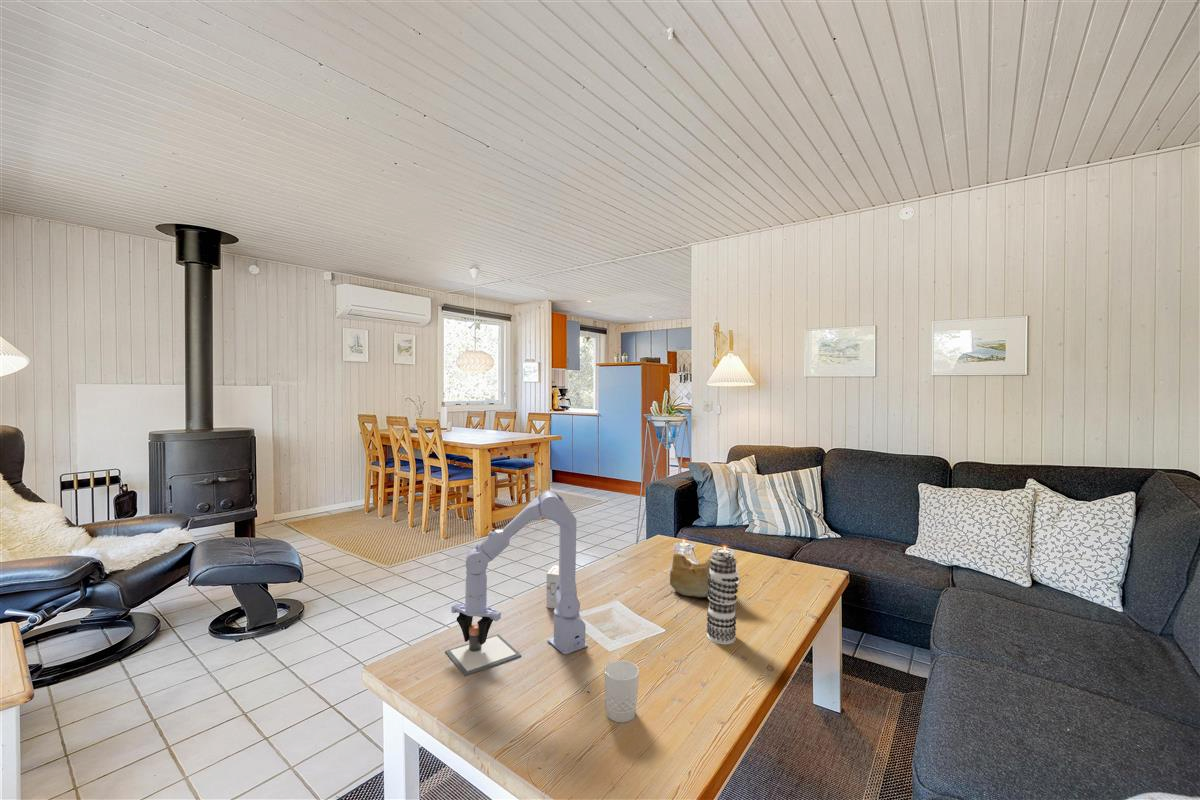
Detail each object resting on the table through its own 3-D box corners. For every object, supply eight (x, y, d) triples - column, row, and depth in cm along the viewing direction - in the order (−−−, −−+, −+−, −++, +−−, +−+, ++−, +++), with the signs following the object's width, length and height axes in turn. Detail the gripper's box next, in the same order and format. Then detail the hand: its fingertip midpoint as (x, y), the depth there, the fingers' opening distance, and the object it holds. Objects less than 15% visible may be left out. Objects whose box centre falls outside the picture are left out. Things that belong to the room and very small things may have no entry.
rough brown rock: (744, 597, 179) (745, 555, 180) (727, 609, 166) (728, 564, 167) (686, 583, 193) (687, 544, 194) (666, 593, 179) (667, 552, 180)
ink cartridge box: (552, 597, 174) (553, 556, 173) (566, 599, 173) (567, 557, 172) (545, 607, 165) (546, 564, 165) (559, 609, 164) (560, 565, 164)
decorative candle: (739, 633, 150) (741, 552, 150) (734, 648, 142) (736, 562, 141) (709, 627, 154) (711, 547, 154) (702, 640, 146) (704, 556, 145)
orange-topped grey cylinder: (484, 648, 137) (484, 627, 137) (472, 653, 135) (473, 631, 135) (477, 643, 140) (478, 622, 140) (466, 648, 137) (466, 626, 137)
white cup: (601, 702, 116) (602, 660, 116) (635, 701, 116) (636, 659, 116) (605, 725, 108) (606, 680, 108) (640, 724, 109) (641, 679, 108)
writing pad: (521, 656, 135) (521, 654, 135) (465, 676, 125) (465, 673, 125) (498, 635, 146) (498, 633, 146) (445, 652, 136) (445, 650, 136)
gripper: (506, 591, 138) (505, 639, 139) (461, 584, 143) (461, 630, 143) (493, 601, 132) (492, 651, 132) (447, 593, 136) (446, 642, 136)
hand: (475, 641), depth 137 cm, fingers open, 4 cm apart
